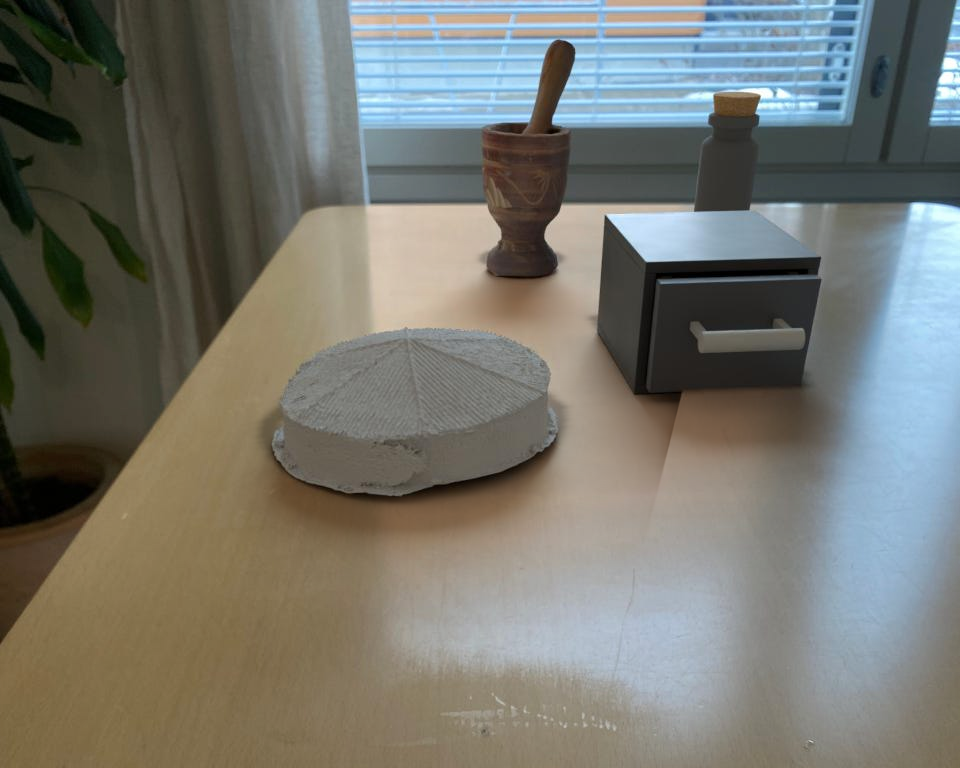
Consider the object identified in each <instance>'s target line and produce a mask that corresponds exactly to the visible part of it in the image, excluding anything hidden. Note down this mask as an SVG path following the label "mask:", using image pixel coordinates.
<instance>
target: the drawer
mask: <svg viewBox="0 0 960 768" xmlns="http://www.w3.org/2000/svg"><path fill="white" fill-rule="evenodd" d="M655 274H656V278H655V288H654V298H653V308H652V318H651V328H650V338H649V348H648V358H647V380H646V388H647V389H648V391H649V393H648V394H658V393H657V392H669V393H682V392H683V391H690V390H712V389H713V390H717V389H738V388H763V387H764V388H765V387H789V386H790V387H791V386H801V385H802V381H803V376H804V371H805V366H806V361H807V355H808V352H809V351H808V350H809V345H810V341H811V336H812V329H813V327H814V326H813V325H814V320H815V315H816V309H817V305H818V299H819V295H820V289H821V284H822V277H820V276H819V275H818V276H817V275H816V274H805V275H798V272H797V271H796V270H795V269H784V270H751V271H719V272H686V273H655Z"/></svg>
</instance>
